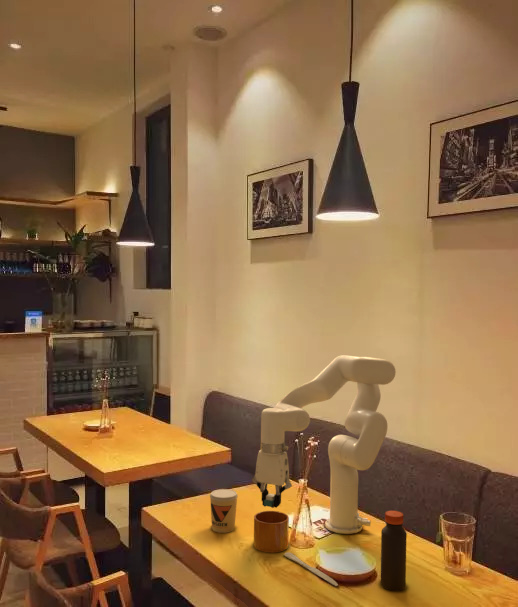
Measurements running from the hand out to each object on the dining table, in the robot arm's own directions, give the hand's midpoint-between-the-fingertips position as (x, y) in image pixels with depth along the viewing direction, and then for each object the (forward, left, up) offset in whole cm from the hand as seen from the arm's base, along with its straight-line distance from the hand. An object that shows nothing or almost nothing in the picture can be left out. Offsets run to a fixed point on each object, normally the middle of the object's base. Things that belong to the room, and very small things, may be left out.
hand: (271, 504), depth 190 cm
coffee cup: (+19, -8, -13) cm, 24 cm away
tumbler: (0, 0, -13) cm, 13 cm away
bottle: (-39, +15, -13) cm, 44 cm away
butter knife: (-16, +13, -13) cm, 24 cm away
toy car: (0, 0, 0) cm, 0 cm away
